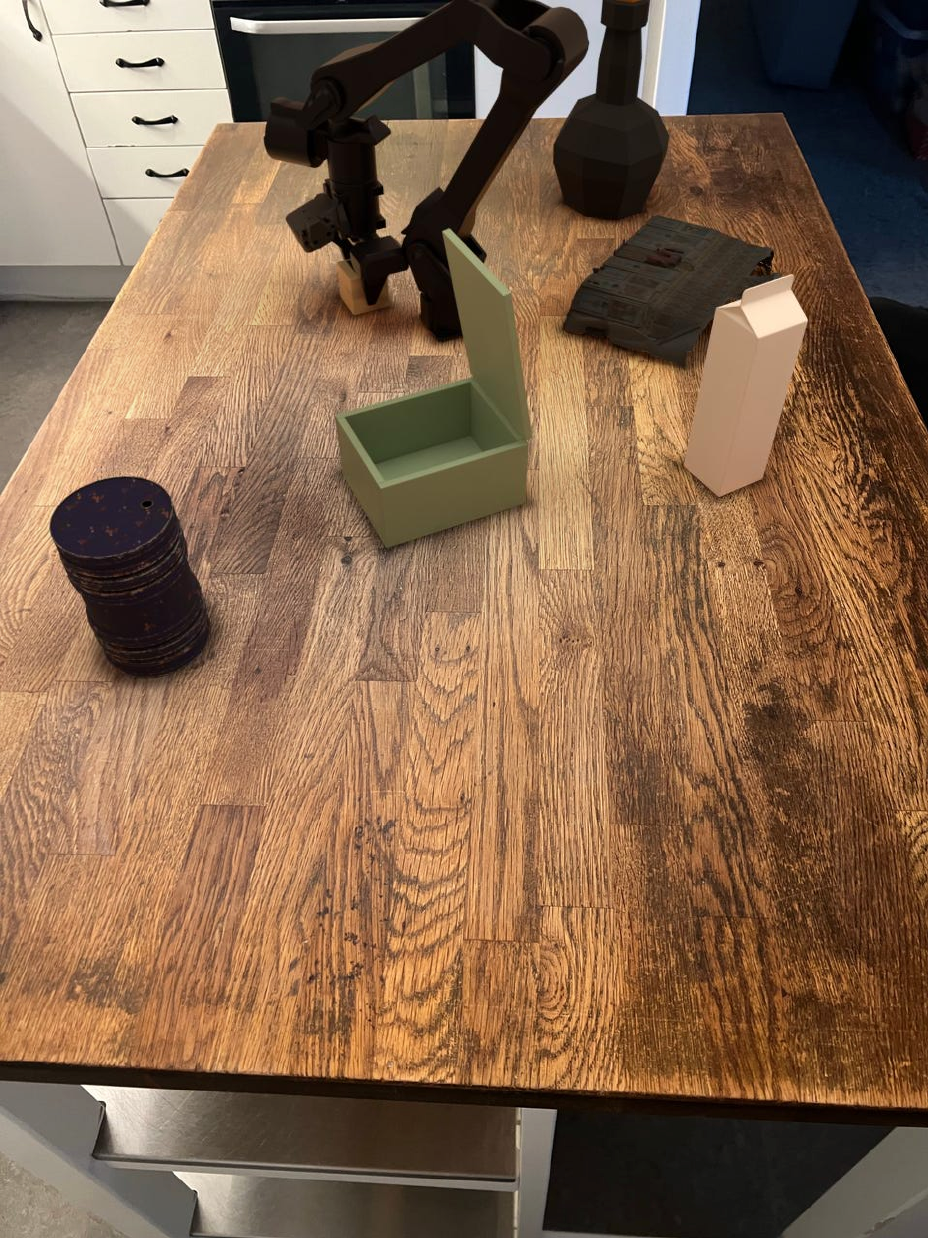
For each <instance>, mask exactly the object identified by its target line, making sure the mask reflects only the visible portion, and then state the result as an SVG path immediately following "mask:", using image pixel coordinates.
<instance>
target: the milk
mask: <svg viewBox="0 0 928 1238" xmlns="http://www.w3.org/2000/svg"><path fill="white" fill-rule="evenodd" d="M781 277H782V278H779V279H776V280H773V281H770V282H767V283H764V284H761V285H758V286H755V287H752V288H749V289H746V290H745V291H744V293H743V295H742V299H741V300H735V301H733V302H730V303H727V304H726V303H725V304H724V305H723V306H721V307H718V308H716V311H715V316H714V318H713V319H712V326H711V331H710V335H709V341H708V345H707V350H706V355H705V358H704V365H703V369H702V374H701V378H700V384H699V387H698V394H697V399H696V404H695V409H694V413H693V418H692V423H691V428H690V433H689V437H688V442H687V447H686V453H685V456H684V460H683V467H684V468H685V469H686V470H687V471H689V472H690V473H691V474H692V475H693V476H694V477H695V478H696V479H698V481H699V482H701V483H702V484H703V485H704V486H705V487H706V488H708V490H710V491H711V492H712V493H713V494H714V495H715V496H716V497H718V498H720V497H722V496H725V495H728V494H730V493H732V492H735V491H738V490H739V489H742V488H744V487H746V486H749V485H752V484H754V483H756V482H758V481H761V480H762V479H764V475H765V471H766V468H767V464H768V460H769V457H770V453H771V450H772V447H773V444H774V441H775V436H776V434H777V429H778V425H779V422H780V418H781V415H782V413H783V409H784V404H785V401H786V399H787V394H788V392H789V388H790V384H791V381H792V377H793V374H794V370H795V367H796V363H797V359H798V356H799V354H800V350H801V345H802V342H803V339H804V336H805V332H806V329H807V325H808V322H809V319H808V317H807V316H806V313H805V312H804V310H803V308H802V307H801V304H800V303H799V301H798V299H797V296H795V294H794V292H793V290H792V286H793V283H794V279H795V275H794V274H792V273H790V274H788V275H784V276H781Z"/></svg>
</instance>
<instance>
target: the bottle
mask: <svg viewBox="0 0 928 1238" xmlns="http://www.w3.org/2000/svg"><path fill="white" fill-rule="evenodd" d="M650 6H651V0H602V1H601V12H600V23H599V24H601V25H602V26H604V27H605V28H604V29H605V30H604V34H603V39H602V43H601V47H600V52H599V56H598V61H597V71H596V72H597V73H596V83H595V84H596V85H595V93H592V94H589V95H586V96H583V97H580V98H578V99H577V101H576V102H575V103H574V105H573V107H572V109H571V110H570V112H569V114H568V115H567V117H566V119H565V120H564V122H563V124H562V126H561V128H560V129H559V132H558V134H557V136H556V138H555V139H554V142H553V145H552V147H553V148H552V164H553V167H554V171H555V174H556V178H557V181H558V185H559V187H560V191H561V192H560V193H561V195H562V198H563V201H564V204H566V205H567V206H568V207H570V208H571V209H573V210H575V211H576V212H578V213H580V214H581V215H582V216H584V217H588V218H599V219H608V220H619V219H624V218H626V217H630V216H632V215H633V216H634V215H637V214H639V213H642V211H643V209H644V207H645V204H646V203H647V200H648V198H649V196H650V194H651V192H652V189H653V188H654V186H655V183H656V180H657V178H658V176H659V174H660V172H661V169H662V167H663V165H664V162H665V159H666V157H667V152H668V147H669V142H670V136H671V135H670V133H669V131H668V130H667V127H666V126H665V123H664V122H663V119H662V117H661V114H660V113H659V111H658V110H657V109H656V108H654V107H653V106H652V105H650V104H649V103H648V102H646V101H645V100H643V99H642V98H640V97H639V96H638V95H639V89H640V88H639V87H640V80H641V72H642V62H643V38H642V37H643V33H642V31H643V28H645V27H646V26H647V24H648V22H649V16H650V13H649V12H650V8H651V7H650Z"/></svg>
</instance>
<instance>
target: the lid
mask: <svg viewBox="0 0 928 1238" xmlns="http://www.w3.org/2000/svg"><path fill="white" fill-rule="evenodd" d="M442 233H443V238H444V243H445V248H446V253H447V258H448V263H449V268H450V273H451V278H452V283H453V288H454V293H455V298H456V303H457V308H458V313H459V318H460V323H461V328H462V333H463V336H462V337H463V342H464V347H465V352H466V357H467V363H468V368H469V372H470V375H471V377H474V378H475V379H476V381H477V382H478V383H479V384H480V386H481V387H482V388H483V389H484V390H485V392H486V393H487V394H488V395H489V397H490V398H491V399H492V400H493V401H494V403H495V404H496V405H497V406H498V408H499V409H500V410H501V411H502V412H503V414H504V415H505V416H506V417H507V419H508V420H509V421H510V422H511V423H512V425H513V426H514V427H515V428H516V430H517V431H518V432H519V433H520V434H521V436H522V437H523V438H524V439H525V441H527V442H528V441H529V440H531V439H533V431H532V424H531V417H530V411H529V404H528V403H529V402H528V398H527V390H526V384H525V377H524V369H523V363H522V357H521V350H520V342H519V336H518V330H517V323H516V315H515V309H514V303H513V301H514V300H513V296H512V292H511V291H510V290H509V289H508V287H507V286H506V285H505V284H504V283H503V282H502V281H501V280H500V279H499V278H498V277H497V275H495V274H494V273H493V272H492V270H490V269H489V267H487V266H486V264H485V263H484V264H483V263H482V262H481V261H480V260H479V259H478V257H477V256H476V255H475V254H474V253H473V252H472V251H471V250H470V249H469V248H468V247H467V246H466V245H465V244H464V243H463V242H462V241H461V240H460V239H459V238H458V237H457V236H456V235H455V234H454V233H453V231H452V230H451V229H447V230H444V231H442Z"/></svg>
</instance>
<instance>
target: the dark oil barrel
mask: <svg viewBox="0 0 928 1238" xmlns="http://www.w3.org/2000/svg"><path fill="white" fill-rule="evenodd" d="M181 523H182V522H181V520H180V518H179V517H178V515H177V513H176V509H175V506H174V503H173V500H172V496H171V495H170V493H169V492H168V490H166V488H165V487H164V486H162V485H161V484H160V483H158V482H156V481H153V480H151V479H148V478H146V477H140V476H133V475H132V476H131V475H122V476H121V475H120V476H119V475H118V476H111V477H106V478H102V479H97V480H95V481H92V482H90V483H87V484H85V485H83V486H81V487H79V488H77V489H76V490H73V491H72V492H71V493H69V494H68V495H67V496H66V497H65V498H63V499H62V500H61V501H60V502H59V504H58V505H57V506H56V508H55V509H54V510H53V512H52V514H51V516H50V521H49V525H48V526H49V528H48V530H49V534H50V537H51V539H52V542H53V543H54V545H55V548H56V550H57V552H58V556H59V557H58V558H59V560H60V562H61V565H62V567H63V569H64V571H65V573H66V576H67V579H68V580H69V583H70V584H71V586H73V588H74V590H75V591H76V592H77V593H78V594H79V595H80V596H81V598H82V600H83V602H84V605H85V615H86V619H87V623H88V625H89V627H90V629H91V630H92V633H93V635H94V637H95V639H96V641H97V643H98V645H100V647H101V648H102V650H103V653H104V656H105V657H106V660H107V662H108V663H109V664H110V666H111V667H113V668H114V669H115V670H116V671H118V672H119V673H121V674H123V675H127V676H129V677H134V678H139V679H150V678H152V679H153V678H160V677H165V676H168V675H172V674H174V673H176V672H178V671H182V670H183V669H184V668H186V667H188V666H189V665H191V664H192V663H193V662H195V661H196V660H197V659H198V658H199V657H200V656H201V655H202V654H203V652H204V651H205V650H206V648H207V646H208V644H209V642H210V639H211V636H212V624H211V621H210V618H209V615H208V611H207V604H206V600H205V597H204V594H203V590H202V585H201V583H200V581H199V579H198V577H197V575H196V574H195V573H194V572H193V570H192V569H191V566H190V562H189V545H188V542H187V538H186V537H185V533H184V530H183V527H182V524H181Z"/></svg>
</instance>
